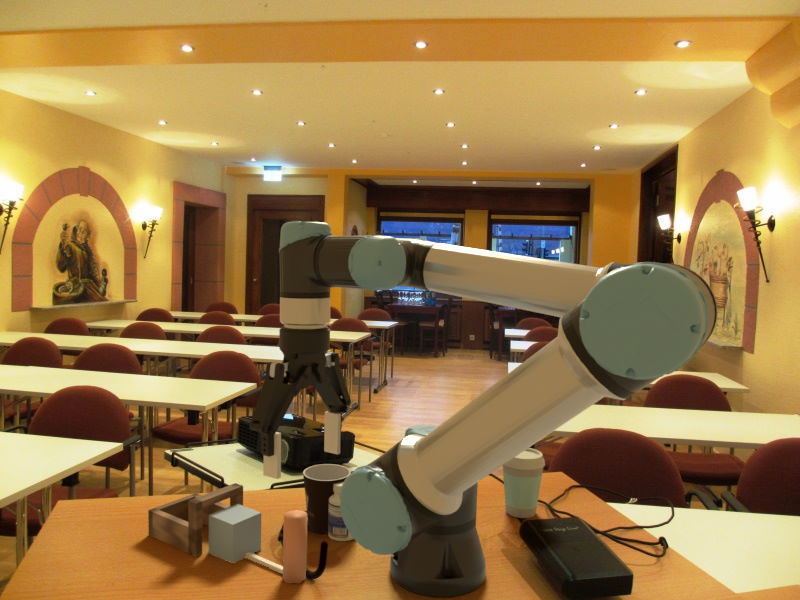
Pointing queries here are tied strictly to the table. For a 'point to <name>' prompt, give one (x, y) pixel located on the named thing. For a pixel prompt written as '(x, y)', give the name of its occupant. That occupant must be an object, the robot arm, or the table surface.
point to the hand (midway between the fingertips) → (303, 463)
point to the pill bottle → (337, 517)
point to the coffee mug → (321, 492)
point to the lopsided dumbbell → (259, 539)
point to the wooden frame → (190, 517)
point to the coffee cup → (523, 483)
